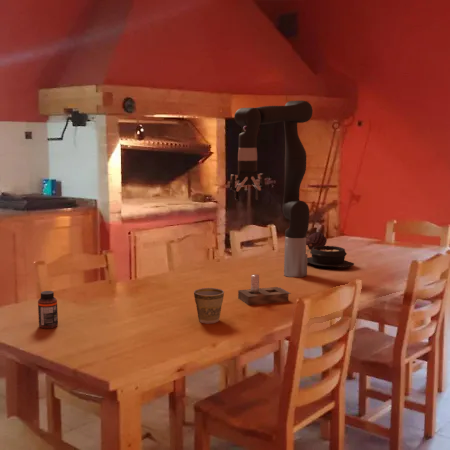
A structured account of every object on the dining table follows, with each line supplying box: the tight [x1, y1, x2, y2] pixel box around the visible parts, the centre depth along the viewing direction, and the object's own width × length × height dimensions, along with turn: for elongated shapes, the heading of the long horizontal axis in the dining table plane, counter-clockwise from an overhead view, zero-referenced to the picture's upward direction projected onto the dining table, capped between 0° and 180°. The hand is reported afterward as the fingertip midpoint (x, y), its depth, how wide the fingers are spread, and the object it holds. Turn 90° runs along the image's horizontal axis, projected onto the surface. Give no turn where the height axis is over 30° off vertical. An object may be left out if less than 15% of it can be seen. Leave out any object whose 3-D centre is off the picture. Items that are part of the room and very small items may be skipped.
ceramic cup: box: [193, 287, 225, 325], centre depth 212 cm, size 13×10×10 cm
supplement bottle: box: [37, 290, 59, 329], centre depth 204 cm, size 6×6×11 cm
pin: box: [250, 274, 260, 294], centre depth 235 cm, size 3×3×10 cm
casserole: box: [307, 245, 355, 269], centre depth 298 cm, size 25×19×8 cm
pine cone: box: [306, 231, 328, 251], centre depth 335 cm, size 18×10×10 cm, turn 137°
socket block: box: [237, 286, 290, 306], centre depth 237 cm, size 16×10×4 cm, turn 110°
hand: (247, 200), depth 252 cm, fingers open, 8 cm apart
